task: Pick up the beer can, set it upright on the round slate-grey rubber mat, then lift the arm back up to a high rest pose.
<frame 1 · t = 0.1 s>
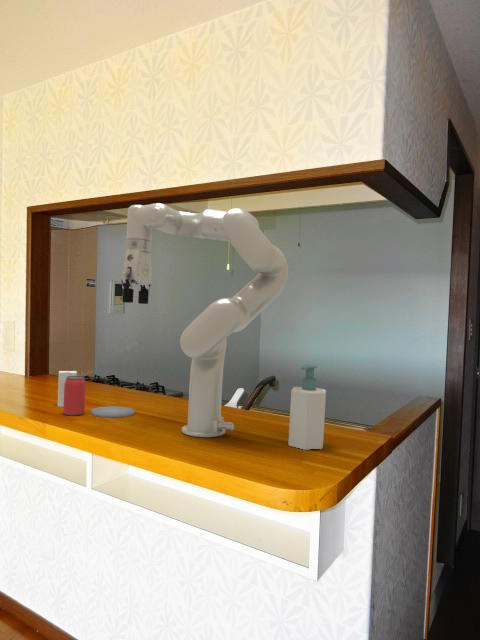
hand: (135, 303, 151), 37 cm above the counter, tool pointing down, fingers open, 9 cm apart
slate mat: (112, 413, 164), on the counter
skincare box: (66, 406, 173), on the counter
beer can: (73, 414, 160), on the counter
soap bottle: (305, 446, 136), on the counter
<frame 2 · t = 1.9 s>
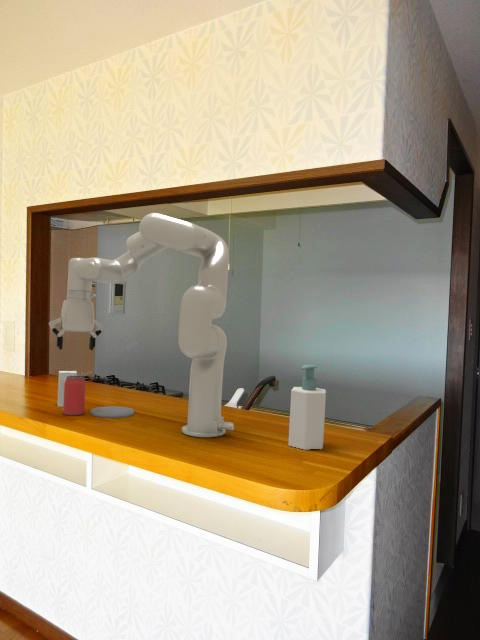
hand: (75, 349, 160), 21 cm above the counter, tool pointing down, fingers open, 9 cm apart
nothing on the counter moved.
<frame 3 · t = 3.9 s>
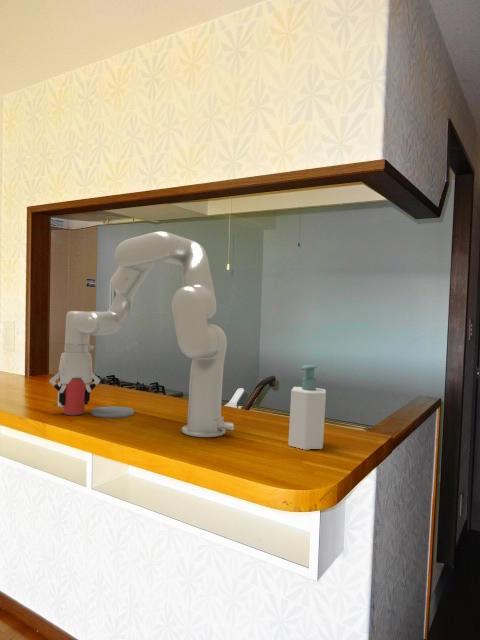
hand: (74, 403, 160), 3 cm above the counter, tool pointing down, fingers closed on beer can, 6 cm apart
beer can: (73, 414, 160), on the counter, touching gripper
everything else where it was.
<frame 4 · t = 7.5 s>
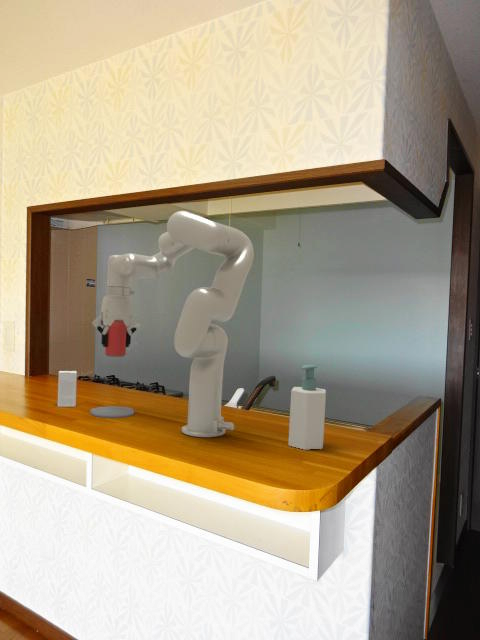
hand: (115, 346, 164), 22 cm above the counter, tool pointing down, fingers closed on beer can, 6 cm apart
beer can: (115, 356, 164), point 19 cm above the counter, touching gripper
everything else where it was.
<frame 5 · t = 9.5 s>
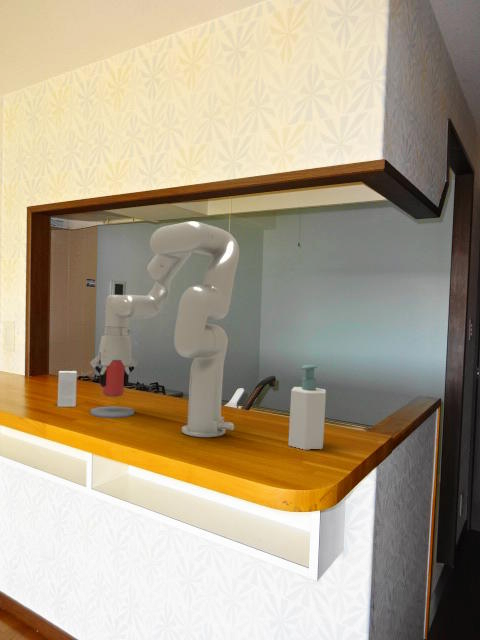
hand: (113, 385, 164), 9 cm above the counter, tool pointing down, fingers closed on beer can, 6 cm apart
beer can: (113, 395, 164), point 6 cm above the counter, touching gripper
everything else where it was.
when the fingers open (5 cm above the counter, at t = 11.3 s): beer can drops 1 cm, resting on slate mat.
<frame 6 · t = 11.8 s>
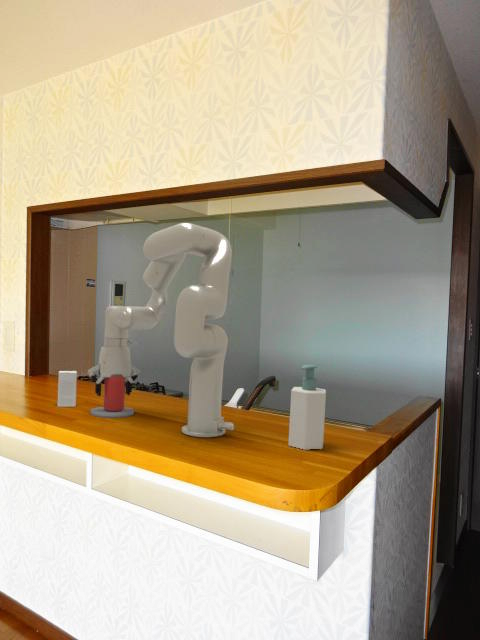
hand: (113, 394, 164), 6 cm above the counter, tool pointing down, fingers open, 9 cm apart
beer can: (113, 410, 164), point 1 cm above the counter, touching slate mat
everything else where it was.
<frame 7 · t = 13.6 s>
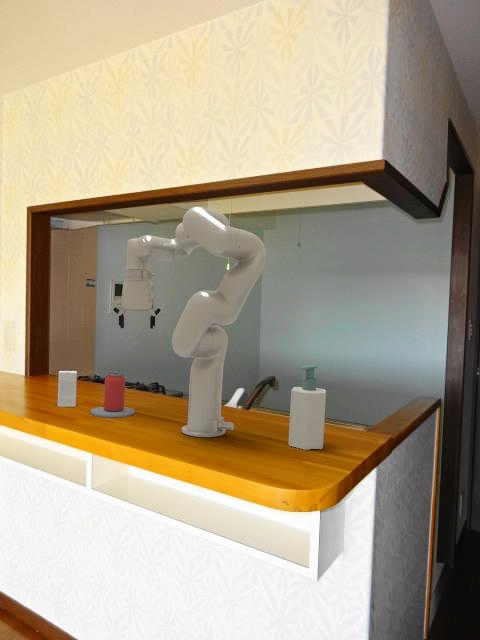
hand: (137, 328, 163), 29 cm above the counter, tool pointing down, fingers open, 9 cm apart
nothing on the counter moved.
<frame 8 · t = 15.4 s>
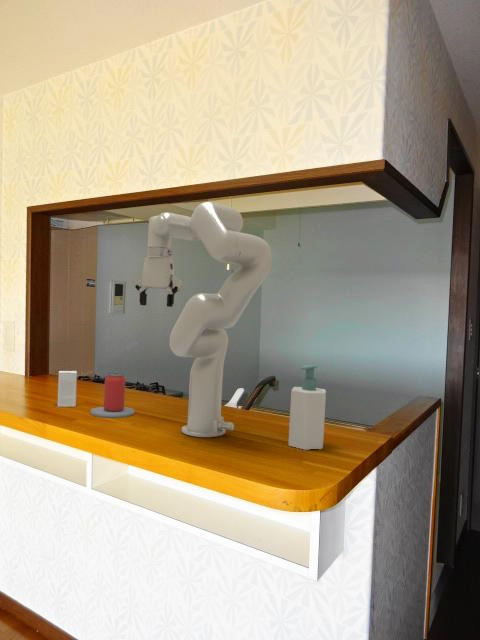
hand: (156, 305, 164), 36 cm above the counter, tool pointing down, fingers open, 9 cm apart
nothing on the counter moved.
at the end: beer can 0.3 cm from the slate mat (horizontally); beer can tilted 0°; the gripper is holding nothing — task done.
